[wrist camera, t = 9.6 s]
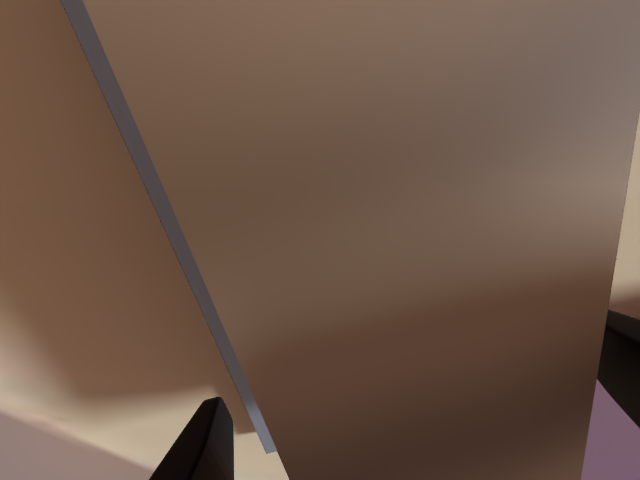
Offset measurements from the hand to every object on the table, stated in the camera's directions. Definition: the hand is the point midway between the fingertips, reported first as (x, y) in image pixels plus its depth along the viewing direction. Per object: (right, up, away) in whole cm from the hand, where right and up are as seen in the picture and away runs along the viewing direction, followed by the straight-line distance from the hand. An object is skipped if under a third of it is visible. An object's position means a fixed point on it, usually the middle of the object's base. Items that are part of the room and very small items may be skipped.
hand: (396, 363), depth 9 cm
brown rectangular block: (0, +1, +2) cm, 2 cm away
